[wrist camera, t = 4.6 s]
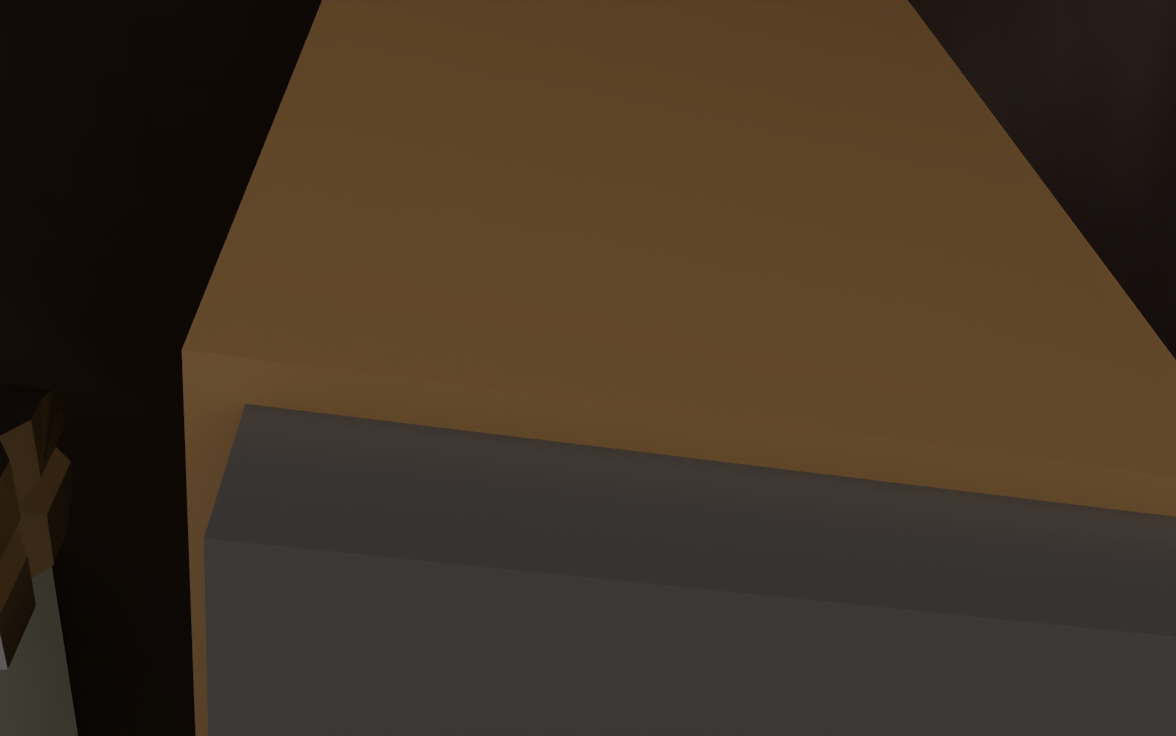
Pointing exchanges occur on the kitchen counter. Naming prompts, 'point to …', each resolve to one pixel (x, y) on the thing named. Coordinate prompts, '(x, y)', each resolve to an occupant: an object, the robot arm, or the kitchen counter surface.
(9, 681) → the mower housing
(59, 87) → the kitchen counter surface
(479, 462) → the grey-topped tan block
